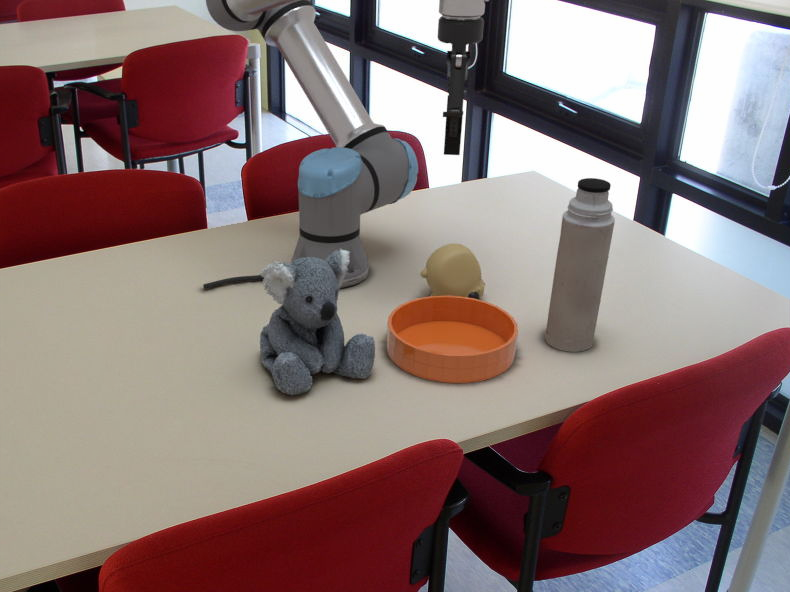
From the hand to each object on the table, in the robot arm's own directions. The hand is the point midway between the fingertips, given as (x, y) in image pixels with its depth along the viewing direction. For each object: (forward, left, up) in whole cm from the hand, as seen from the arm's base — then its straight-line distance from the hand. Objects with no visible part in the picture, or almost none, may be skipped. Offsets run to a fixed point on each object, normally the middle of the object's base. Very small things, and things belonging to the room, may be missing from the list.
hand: (452, 142), depth 162 cm
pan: (+2, -28, -27) cm, 39 cm away
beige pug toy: (+2, -8, -27) cm, 28 cm away
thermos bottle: (+22, -22, -27) cm, 41 cm away
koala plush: (-21, -36, -27) cm, 50 cm away
